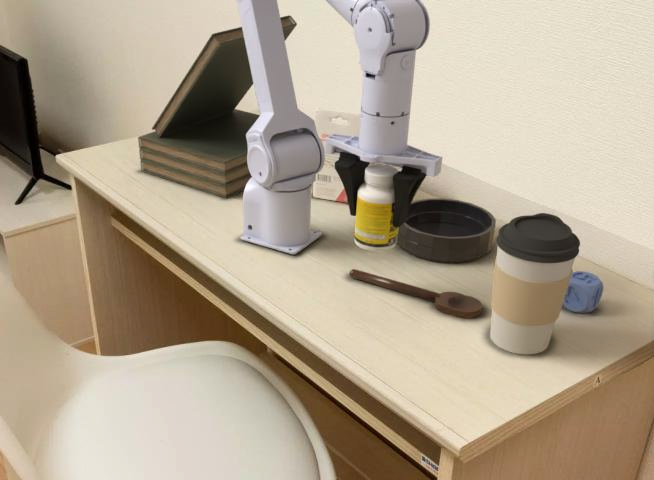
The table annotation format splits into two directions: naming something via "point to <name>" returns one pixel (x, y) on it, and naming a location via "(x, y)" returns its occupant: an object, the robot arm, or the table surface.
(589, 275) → the decorative dice
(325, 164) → the ink cartridge box
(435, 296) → the walnut spoon
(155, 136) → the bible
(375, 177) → the supplement bottle
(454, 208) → the frying pan
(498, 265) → the coffee cup
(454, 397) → the table surface
